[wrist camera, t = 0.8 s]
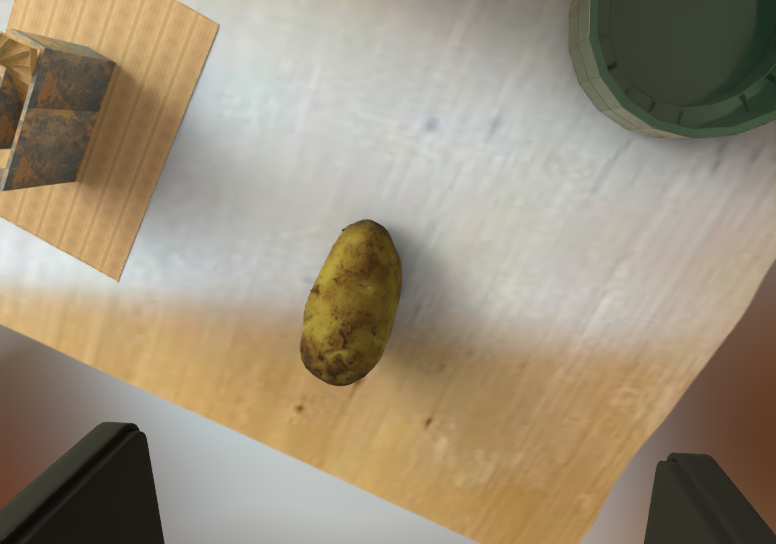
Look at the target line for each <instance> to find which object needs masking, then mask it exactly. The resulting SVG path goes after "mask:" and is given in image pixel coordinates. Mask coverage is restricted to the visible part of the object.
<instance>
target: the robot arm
mask: <svg viewBox="0 0 776 544" xmlns="http://www.w3.org/2000/svg"><path fill="white" fill-rule="evenodd" d="M0 544H164V538H163V532H162V527H161V520H160V514H159V509H158V502H157V496H156V491H155V484H154V478H153V473H152V467H151V461H150V455H149V449H148V443H147V438H146V435H145V434H144V433H143V432H140V431H139V428H138V427H137V425H135V424H133V423H119V422H103V423H101V424H99V425H97V426H96V427H95V428H94V429H93V430H92V431H91V432H89V433H88V434H87V435H86V436H85V437H84V438H82V439H81V440H80V441H79V442H78V443H77V444H75V445H74V446H73V447H72V448H71V449H70V450H68V451H67V452H66V453H65V454H64V455H63V456H61V457H60V458H59V459H58V460H57V461H56V462H54V463H53V464H52V465H51V466H50V467H49V468H48V469H46V470H45V471H44V472H43V473H42V474H41V475H40V476H38V477H37V478H36V479H35V480H34V481H32V482H31V483H30V484H29V485H28V486H27V487H26V488H24V489H23V490H22V491H21V492H20V493H18V494H17V495H16V496H15V497H14V498H13V499H11V500H10V501H9V502H8V503H7V504H6V505H5V506H3V507H2V508H1V509H0ZM644 544H776V535H775V534H774V533H773V532H772V530H771V529H770V528H769V527H768V525H767V524H766V523H765V522H764V520H763V519H762V518H761V517H760V516H759V514H758V513H757V512H756V511H755V509H754V508H753V507H752V506H751V504H750V503H749V502H748V501H747V499H746V498H745V497H744V496H743V494H742V493H741V492H740V491H739V490H738V488H737V487H736V486H735V485H734V484H733V482H732V481H731V480H730V478H729V477H728V476H727V475H726V473H725V472H724V471H723V470H722V469H721V467H720V466H719V465H718V464H717V462H716V461H715V460H714V459H713V458H712V457H711V456H709V455H706V454H687V453H671V454H670V455H669V456H668V458H667V461H660V462H658V464H657V468H656V472H655V479H654V485H653V491H652V497H651V503H650V509H649V516H648V522H647V529H646V534H645V540H644Z"/></svg>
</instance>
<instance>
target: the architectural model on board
mask: <svg viewBox="0 0 776 544" xmlns="http://www.w3.org/2000/svg"><path fill="white" fill-rule="evenodd" d="M218 26H219V25H218V24H217V23H215V22H213V21H211V20H210V19H208V18H206V17H205V16H203V15H201V14H199V13H198V12H196V11H194V10H192V9H191V8H189V7H187V6H186V5H184V4H182V3H180V2H179V1H177V0H14V3H13V7H12V11H11V15H10V18H9V22H8V26H7V29H6V33H3V32H0V216H1V217H2V218H4V219H6V220H8V221H10V222H12V223H13V224H15V225H17V226H19V227H21V228H22V229H24V230H26V231H28V232H30V233H31V234H33V235H35V236H37V237H39V238H40V239H42V240H44V241H46V242H48V243H50V244H51V245H53V246H55V247H57V248H59V249H60V250H62V251H64V252H66V253H68V254H69V255H71V256H73V257H75V258H77V259H78V260H80V261H82V262H84V263H86V264H88V265H89V266H91V267H93V268H95V269H97V270H98V271H100V272H102V273H104V274H106V275H107V276H109V277H111V278H113V279H115V280H116V281H118V279H119V277H120V274H121V272H122V269H123V267H124V264H125V262H126V259H127V257H128V254H129V252H130V249H131V246H132V244H133V241H134V239H135V236H136V234H137V231H138V229H139V226H140V224H141V221H142V219H143V216H144V214H145V211H146V209H147V206H148V203H149V201H150V198H151V196H152V193H153V191H154V188H155V186H156V183H157V181H158V178H159V176H160V173H161V171H162V168H163V166H164V163H165V160H166V158H167V155H168V153H169V150H170V148H171V145H172V143H173V140H174V138H175V135H176V133H177V130H178V128H179V125H180V123H181V120H182V117H183V115H184V112H185V110H186V107H187V105H188V102H189V100H190V97H191V95H192V92H193V90H194V87H195V85H196V82H197V80H198V77H199V74H200V72H201V69H202V67H203V64H204V62H205V59H206V57H207V54H208V52H209V49H210V47H211V44H212V42H213V39H214V37H215V34H216V31H217V29H218Z"/></svg>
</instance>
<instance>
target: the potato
mask: <svg viewBox="0 0 776 544" xmlns="http://www.w3.org/2000/svg"><path fill="white" fill-rule="evenodd" d="M342 231H343V232H342V234H341V235H340V236H339V238H338V239H337V241H336V243H335V244H334V245H333V247H332V250H331V252H330V254H329V256H328V258H327V260H326V262H325V263H324V266H323V267H322V269H321V271H320V273H319V275H318V277H317V279H316V281H315V284H314V286H313V288H312V290H311V293H310V295H309V297H308V299H307V303H306V306H305V311H304V325H303V332H302V337H301V342H300V352H301V359H302V362H303V363H304V365H305V367H306V369H308V370H309V371H310V372H311V373H312V374H313V375H314V376H316V377H317V378H319V379H321V380H322V381H324V382H326V383H328V384H331V385H334V386H346V385H350V384H352V383H354V382H356V381H357V380H359V379H361V378H363V377H365V376H366V375H367V374H368V373H369V372H370V371H371V370H372V369H373V368H374V367H375V365H376V364H377V363H378V362H379V360H380V358H381V357H382V354H383V352H384V349H385V346H386V344H387V341H388V338H389V336H390V333H391V330H392V327H393V322H394V318H395V313H396V309H397V306H398V303H399V298H400V292H401V283H402V270H401V262H400V259H399V255H398V253H397V251H396V249H395V247H394V244H393V242H392V239H391V237H390V235H389V233H388V231H387V230H386V229H385V228H384V227H383V226H382V225H380V224H378V223H376V222H374V221H373V220H361V221H358V222H356V223H354V224H351V225H349V226H347V227H346V228H345V229H343V230H342Z"/></svg>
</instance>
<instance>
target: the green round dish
mask: <svg viewBox="0 0 776 544" xmlns="http://www.w3.org/2000/svg"><path fill="white" fill-rule="evenodd" d="M569 52H570V56H571V59H572V62H573V65H574V69H575V72H576V75H577V79H578V82H579V84H580V86H581V87H582V88H583V90H584V91H585V93H586V94H587V95H588V97H589V98H590V99H591V101H592V102H593V103H594V105H595V106H596V107H597V109H598V110H599V111H600V112H602V113H603V114H605V115H606V116H608V117H609V118H611V119H612V120H614V121H615V122H617V123H618V124H620V125H621V126H623V127H624V128H626V129H628V130H632V131H636V132H640V133H644V134H648V135H652V136H656V137H661V138H705V137H718V136H732V135H737V134H739V133H742V132H745V131H748V130H750V129H753V128H756V127H758V126H761V125H764V124H766V123H769V122H772V121H774V120H776V0H573V3H572V6H571V9H570V13H569Z"/></svg>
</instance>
